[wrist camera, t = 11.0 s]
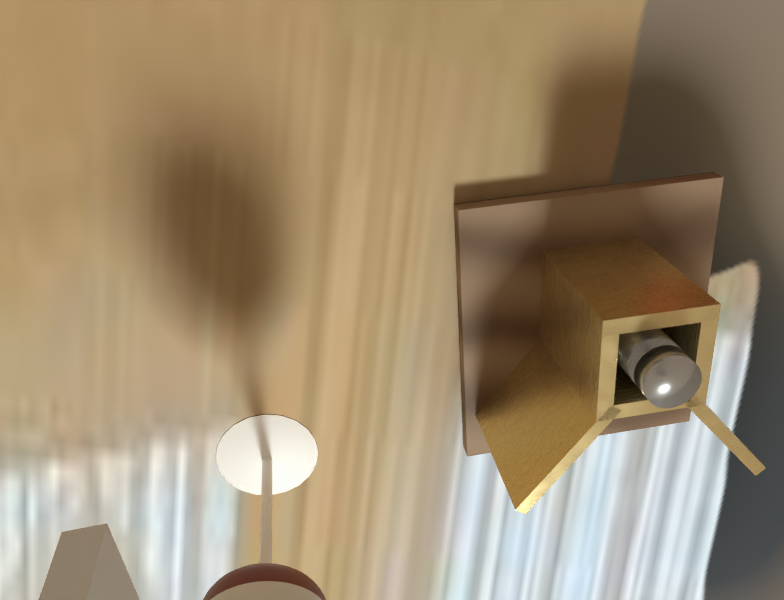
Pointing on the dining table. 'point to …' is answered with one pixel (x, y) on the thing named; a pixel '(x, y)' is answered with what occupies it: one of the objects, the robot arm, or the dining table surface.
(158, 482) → the dining table surface
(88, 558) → the robot arm
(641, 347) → the pin
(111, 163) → the dining table surface
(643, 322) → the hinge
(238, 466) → the wineglass
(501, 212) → the board
